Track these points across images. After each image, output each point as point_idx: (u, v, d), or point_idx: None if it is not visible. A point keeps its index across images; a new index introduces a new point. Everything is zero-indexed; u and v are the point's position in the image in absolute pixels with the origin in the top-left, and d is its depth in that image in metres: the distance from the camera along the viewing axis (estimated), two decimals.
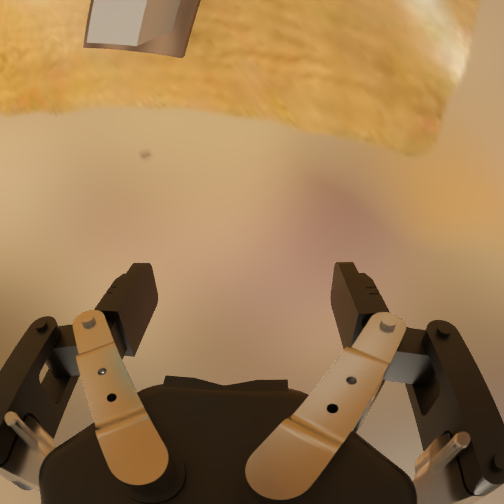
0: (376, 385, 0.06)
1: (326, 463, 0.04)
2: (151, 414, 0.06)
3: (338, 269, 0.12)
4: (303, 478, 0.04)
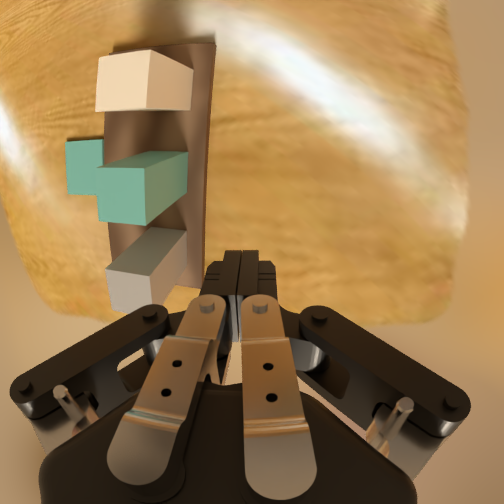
0: (292, 359, 0.07)
1: (310, 441, 0.05)
2: None
3: (242, 257, 0.13)
4: (304, 464, 0.04)
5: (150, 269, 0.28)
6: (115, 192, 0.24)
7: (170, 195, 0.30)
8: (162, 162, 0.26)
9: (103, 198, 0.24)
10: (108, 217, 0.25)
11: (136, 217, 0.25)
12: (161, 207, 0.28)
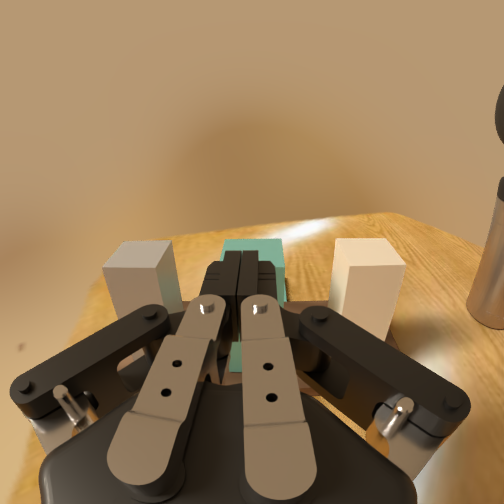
0: (292, 359, 0.07)
1: (310, 441, 0.05)
2: None
3: (242, 257, 0.13)
4: (304, 464, 0.04)
5: (159, 278, 0.24)
6: (256, 249, 0.25)
7: None
8: None
9: (249, 242, 0.26)
10: (228, 244, 0.26)
11: None
12: None
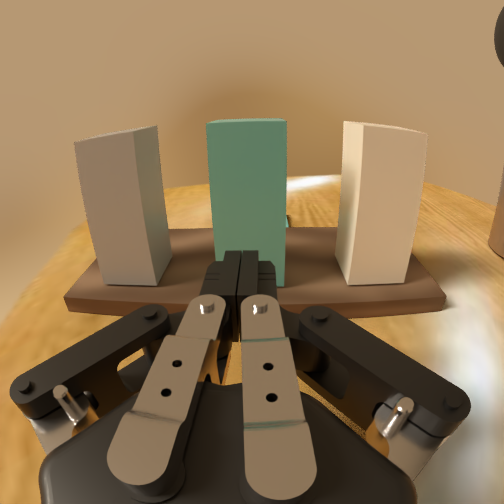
0: (292, 360, 0.07)
1: (310, 441, 0.05)
2: None
3: (242, 257, 0.13)
4: (304, 464, 0.04)
5: (136, 148, 0.19)
6: (252, 119, 0.20)
7: (228, 214, 0.20)
8: (284, 181, 0.19)
9: None
10: (220, 120, 0.21)
11: None
12: (218, 177, 0.19)
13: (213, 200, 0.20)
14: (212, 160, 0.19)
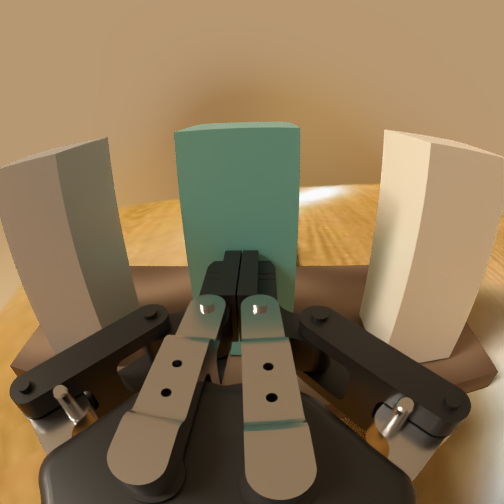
0: (292, 359, 0.07)
1: (310, 441, 0.05)
2: None
3: (242, 256, 0.13)
4: (304, 464, 0.04)
5: (64, 179, 0.11)
6: None
7: None
8: (295, 221, 0.13)
9: None
10: (202, 125, 0.15)
11: (194, 129, 0.12)
12: (195, 215, 0.13)
13: (189, 247, 0.14)
14: (185, 189, 0.12)
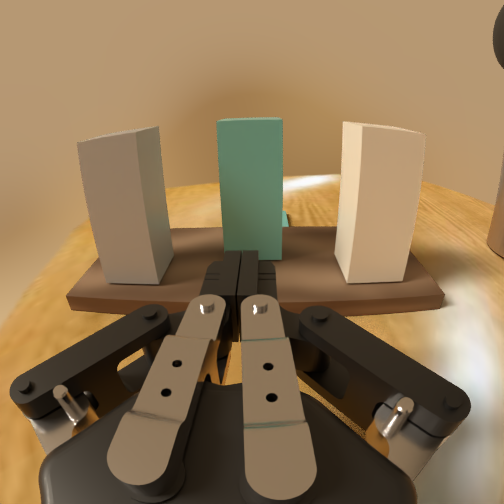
0: (292, 359, 0.07)
1: (310, 441, 0.05)
2: None
3: (242, 257, 0.13)
4: (304, 464, 0.04)
5: (139, 148, 0.19)
6: (254, 118, 0.24)
7: (234, 196, 0.24)
8: (281, 169, 0.23)
9: None
10: None
11: (226, 120, 0.22)
12: (226, 166, 0.23)
13: (222, 185, 0.24)
14: (221, 151, 0.23)
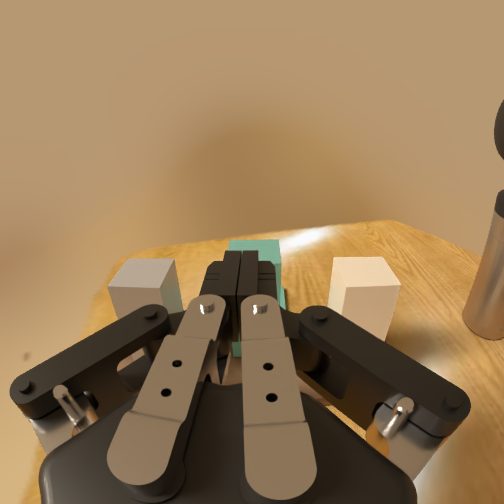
0: (292, 359, 0.07)
1: (310, 441, 0.05)
2: None
3: (242, 257, 0.13)
4: (304, 464, 0.04)
5: (163, 297, 0.25)
6: (257, 248, 0.30)
7: None
8: (278, 299, 0.29)
9: (251, 242, 0.31)
10: (233, 244, 0.30)
11: None
12: None
13: None
14: None
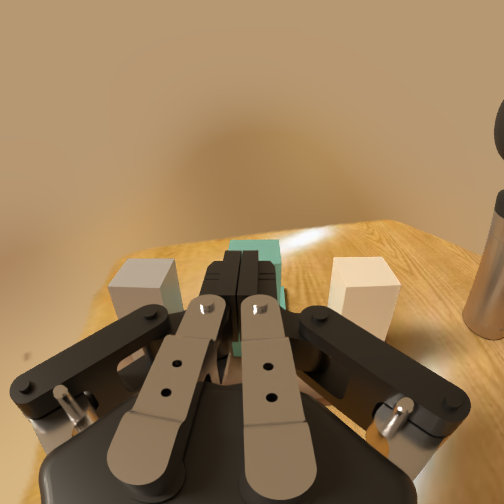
0: (292, 359, 0.07)
1: (310, 441, 0.05)
2: None
3: (242, 257, 0.13)
4: (304, 463, 0.04)
5: (163, 297, 0.25)
6: (257, 248, 0.30)
7: None
8: (279, 299, 0.29)
9: (251, 242, 0.31)
10: (233, 244, 0.31)
11: None
12: None
13: None
14: None
